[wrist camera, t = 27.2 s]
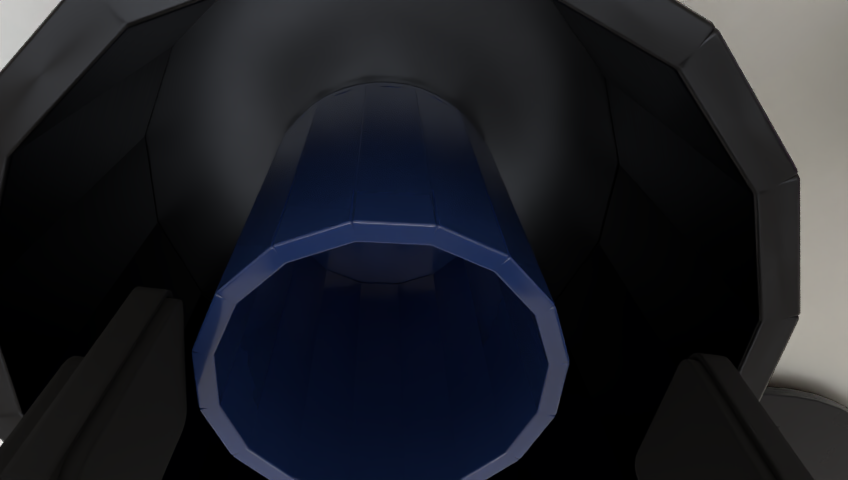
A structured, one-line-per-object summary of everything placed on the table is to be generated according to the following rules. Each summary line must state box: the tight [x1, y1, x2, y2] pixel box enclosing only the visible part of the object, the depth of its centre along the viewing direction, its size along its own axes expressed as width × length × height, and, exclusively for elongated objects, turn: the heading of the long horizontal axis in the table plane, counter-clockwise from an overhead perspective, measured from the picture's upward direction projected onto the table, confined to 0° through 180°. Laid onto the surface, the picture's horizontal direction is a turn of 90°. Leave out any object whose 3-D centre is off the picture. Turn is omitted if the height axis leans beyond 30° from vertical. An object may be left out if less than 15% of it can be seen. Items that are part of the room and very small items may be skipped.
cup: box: [191, 82, 569, 480], centre depth 15 cm, size 7×7×8 cm
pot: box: [0, 0, 800, 480], centre depth 15 cm, size 16×21×8 cm
